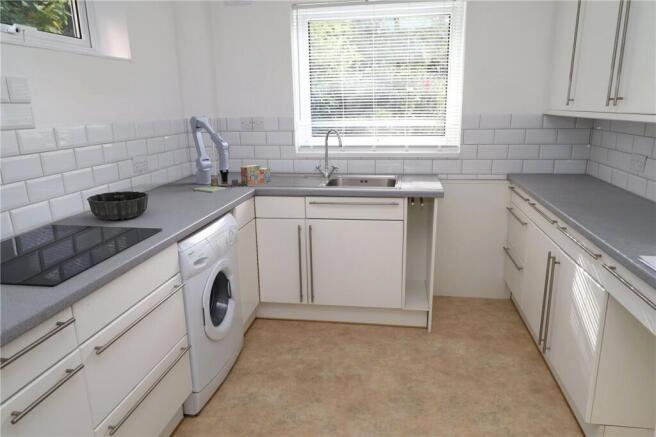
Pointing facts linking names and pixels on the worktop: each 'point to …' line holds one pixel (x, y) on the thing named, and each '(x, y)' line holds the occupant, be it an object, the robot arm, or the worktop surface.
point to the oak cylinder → (214, 182)
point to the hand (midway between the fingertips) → (224, 181)
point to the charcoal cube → (234, 182)
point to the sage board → (209, 188)
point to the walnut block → (224, 182)
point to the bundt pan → (118, 204)
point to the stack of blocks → (254, 175)
